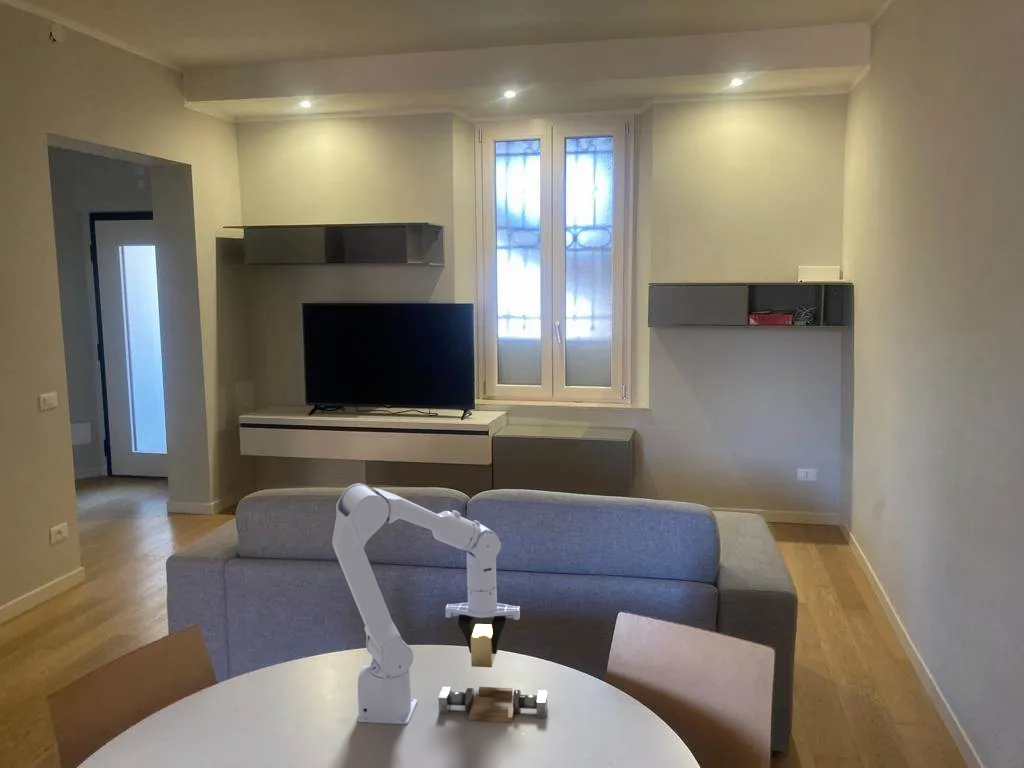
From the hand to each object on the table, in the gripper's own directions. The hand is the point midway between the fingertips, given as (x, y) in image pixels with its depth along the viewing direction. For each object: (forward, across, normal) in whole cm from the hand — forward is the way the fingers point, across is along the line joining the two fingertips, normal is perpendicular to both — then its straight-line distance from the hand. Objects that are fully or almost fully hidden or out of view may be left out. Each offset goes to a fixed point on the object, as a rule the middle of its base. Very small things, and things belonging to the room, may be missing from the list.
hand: (483, 651), depth 159 cm
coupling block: (+2, 0, 0) cm, 2 cm away
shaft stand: (+7, -3, +9) cm, 12 cm away
